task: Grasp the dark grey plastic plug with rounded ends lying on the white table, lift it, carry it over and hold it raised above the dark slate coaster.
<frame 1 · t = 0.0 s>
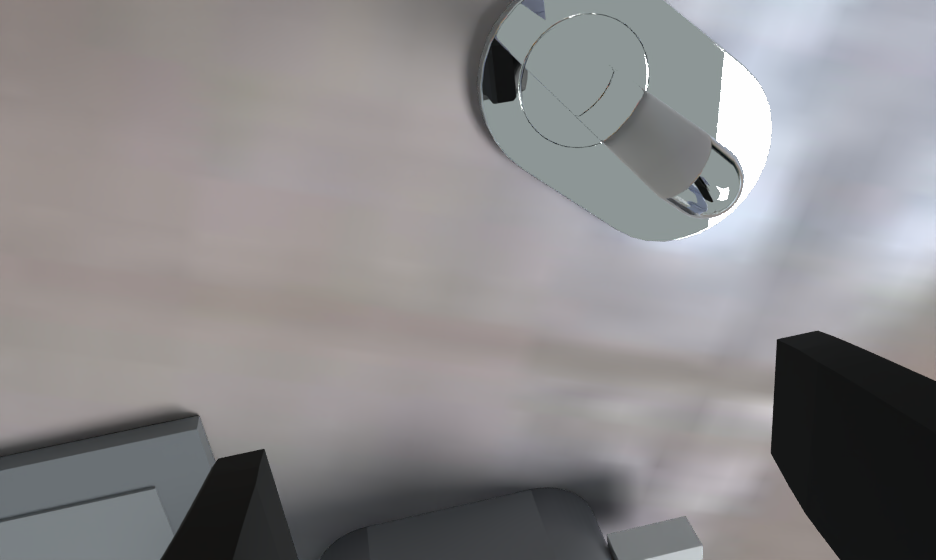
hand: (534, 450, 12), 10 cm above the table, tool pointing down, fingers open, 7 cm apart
plug: (458, 553, 26), on the table
stand: (623, 109, 21), on the table
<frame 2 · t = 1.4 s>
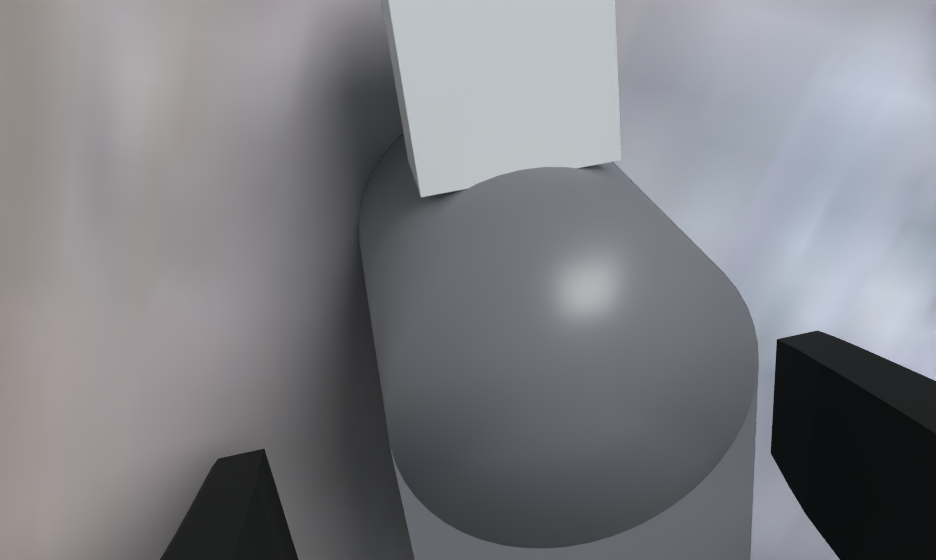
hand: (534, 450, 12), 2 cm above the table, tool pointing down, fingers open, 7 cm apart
plug: (507, 367, 14), on the table
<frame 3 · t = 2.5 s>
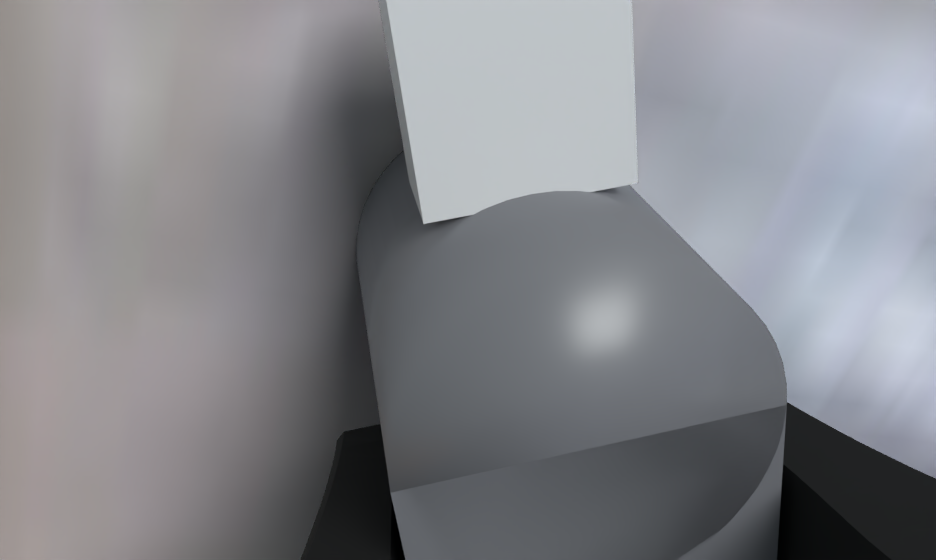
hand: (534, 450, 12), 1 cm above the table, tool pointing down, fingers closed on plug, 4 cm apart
plug: (512, 392, 13), on the table, touching gripper
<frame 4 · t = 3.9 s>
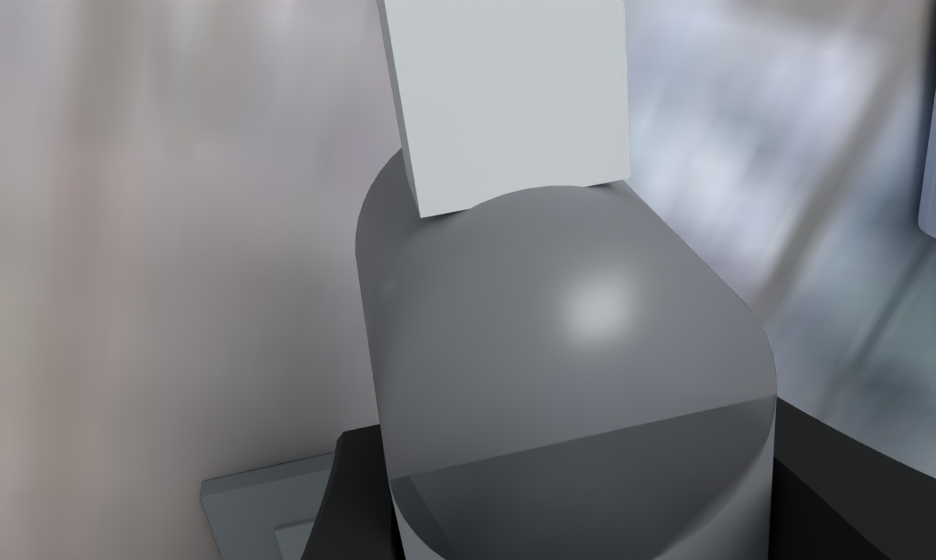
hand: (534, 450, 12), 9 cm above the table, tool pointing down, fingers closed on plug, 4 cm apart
plug: (509, 387, 13), point 7 cm above the table, touching gripper
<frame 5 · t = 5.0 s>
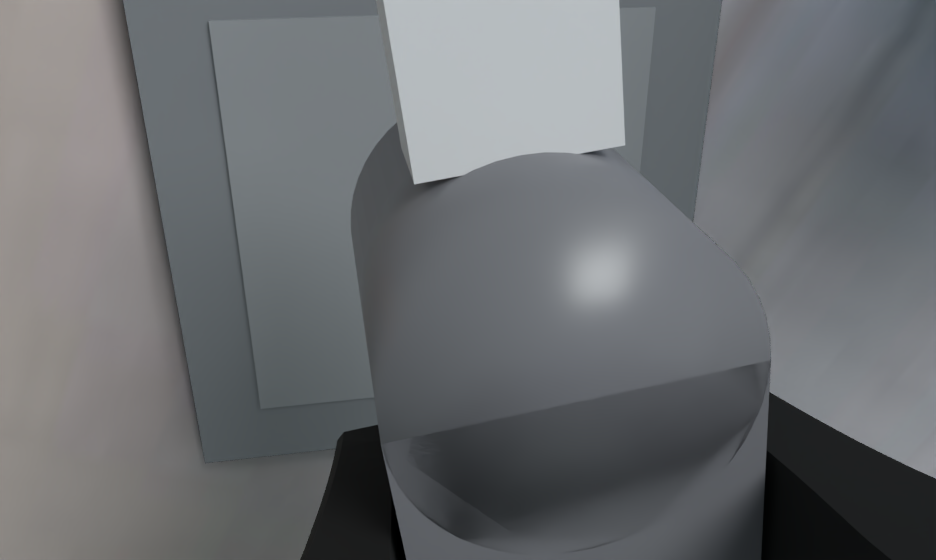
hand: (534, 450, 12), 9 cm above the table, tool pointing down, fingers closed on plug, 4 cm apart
plug: (505, 366, 13), point 7 cm above the table, touching gripper
coaster: (439, 210, 19), on the table
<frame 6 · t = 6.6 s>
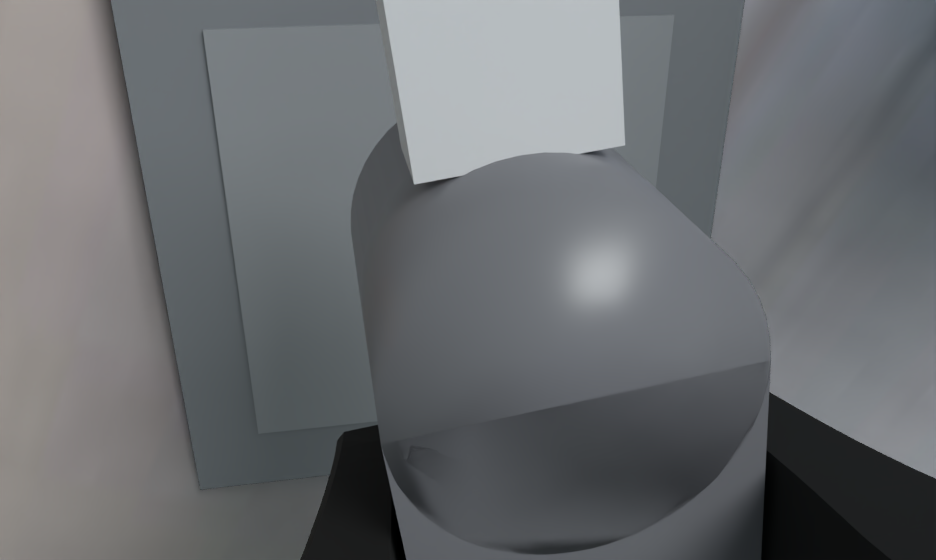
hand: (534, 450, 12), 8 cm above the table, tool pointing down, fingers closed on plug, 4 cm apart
plug: (505, 366, 13), point 6 cm above the table, touching gripper
coaster: (446, 227, 19), on the table
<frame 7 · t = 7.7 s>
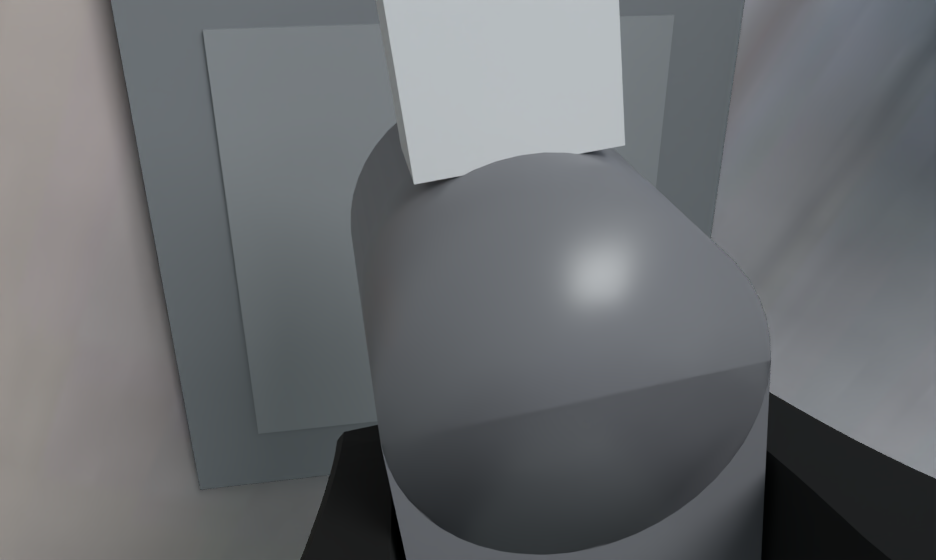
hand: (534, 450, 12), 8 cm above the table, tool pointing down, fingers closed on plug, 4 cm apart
plug: (505, 366, 13), point 6 cm above the table, touching gripper
coaster: (446, 227, 19), on the table
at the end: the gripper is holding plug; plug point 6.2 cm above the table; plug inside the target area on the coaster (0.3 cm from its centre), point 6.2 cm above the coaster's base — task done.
